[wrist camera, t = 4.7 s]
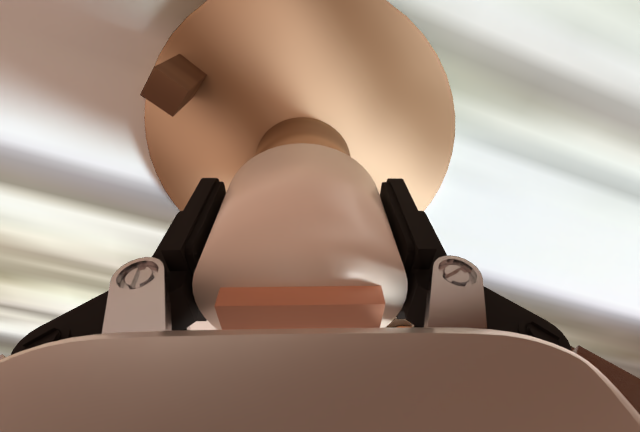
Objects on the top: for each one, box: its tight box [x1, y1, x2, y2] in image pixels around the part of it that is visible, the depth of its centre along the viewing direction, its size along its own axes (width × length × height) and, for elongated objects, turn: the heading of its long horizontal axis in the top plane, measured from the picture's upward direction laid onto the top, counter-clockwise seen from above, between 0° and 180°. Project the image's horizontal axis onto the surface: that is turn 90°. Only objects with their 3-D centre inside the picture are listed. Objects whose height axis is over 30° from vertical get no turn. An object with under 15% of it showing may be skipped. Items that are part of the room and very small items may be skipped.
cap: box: [192, 143, 408, 330], centre depth 10 cm, size 6×6×5 cm
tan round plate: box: [140, 0, 455, 211], centre depth 14 cm, size 15×15×5 cm
